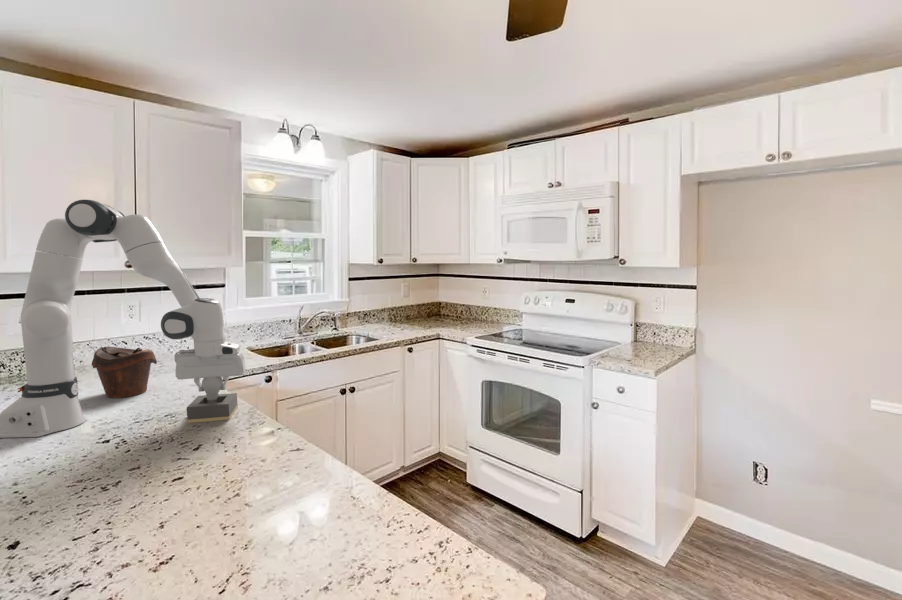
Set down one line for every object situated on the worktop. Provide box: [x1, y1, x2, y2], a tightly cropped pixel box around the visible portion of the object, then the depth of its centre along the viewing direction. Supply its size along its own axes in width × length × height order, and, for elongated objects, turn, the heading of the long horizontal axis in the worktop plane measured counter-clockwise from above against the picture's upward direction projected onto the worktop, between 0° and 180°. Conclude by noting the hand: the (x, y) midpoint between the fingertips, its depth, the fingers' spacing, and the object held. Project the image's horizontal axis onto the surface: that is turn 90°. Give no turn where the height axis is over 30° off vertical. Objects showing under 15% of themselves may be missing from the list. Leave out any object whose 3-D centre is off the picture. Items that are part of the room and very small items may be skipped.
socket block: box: [186, 392, 239, 424], centre depth 150 cm, size 12×12×5 cm
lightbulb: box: [201, 377, 224, 403], centre depth 149 cm, size 6×6×11 cm
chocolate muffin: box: [91, 346, 158, 399], centre depth 174 cm, size 18×20×18 cm
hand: (212, 390), depth 149 cm, fingers closed on lightbulb, 5 cm apart
